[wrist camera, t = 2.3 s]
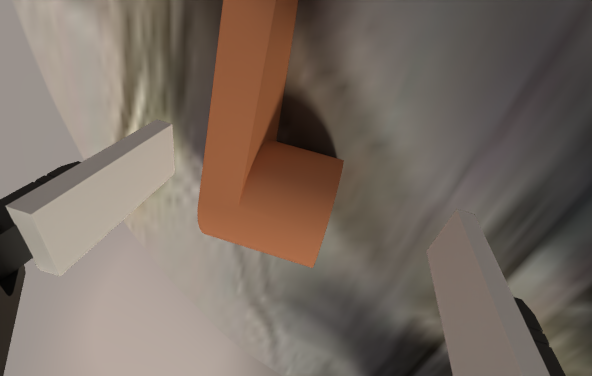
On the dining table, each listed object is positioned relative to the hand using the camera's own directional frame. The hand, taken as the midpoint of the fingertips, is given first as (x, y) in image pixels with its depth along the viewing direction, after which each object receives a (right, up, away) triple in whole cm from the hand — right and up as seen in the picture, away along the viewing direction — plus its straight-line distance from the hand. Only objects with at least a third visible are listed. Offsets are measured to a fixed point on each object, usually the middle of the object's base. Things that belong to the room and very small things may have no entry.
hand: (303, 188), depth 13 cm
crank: (0, +6, +8) cm, 10 cm away
